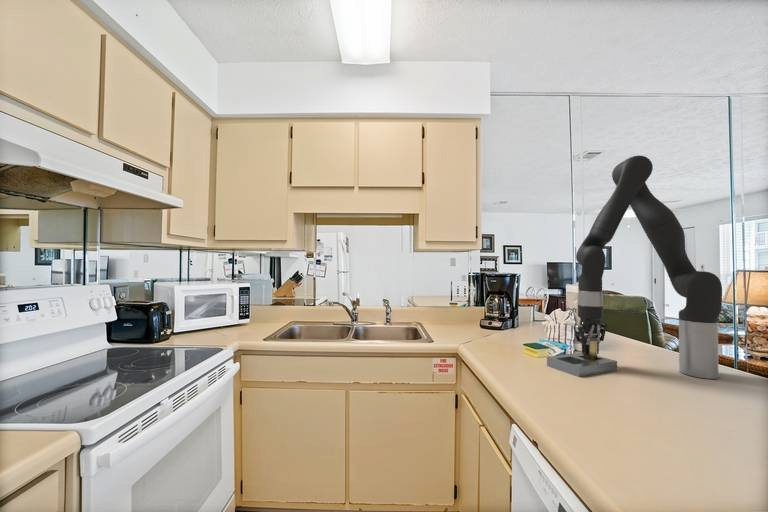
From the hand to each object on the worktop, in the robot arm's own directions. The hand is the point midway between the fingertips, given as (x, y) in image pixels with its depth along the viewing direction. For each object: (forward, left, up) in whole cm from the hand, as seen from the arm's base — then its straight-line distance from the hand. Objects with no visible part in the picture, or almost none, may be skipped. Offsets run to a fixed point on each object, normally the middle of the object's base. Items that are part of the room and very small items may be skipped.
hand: (590, 354), depth 114 cm
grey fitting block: (+4, 0, -4) cm, 6 cm away
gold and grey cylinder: (0, 0, -2) cm, 2 cm away
